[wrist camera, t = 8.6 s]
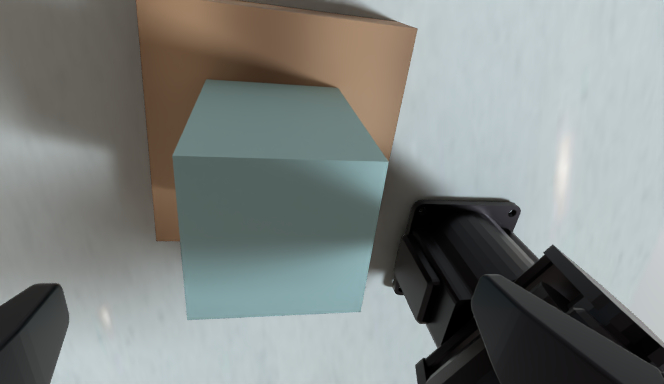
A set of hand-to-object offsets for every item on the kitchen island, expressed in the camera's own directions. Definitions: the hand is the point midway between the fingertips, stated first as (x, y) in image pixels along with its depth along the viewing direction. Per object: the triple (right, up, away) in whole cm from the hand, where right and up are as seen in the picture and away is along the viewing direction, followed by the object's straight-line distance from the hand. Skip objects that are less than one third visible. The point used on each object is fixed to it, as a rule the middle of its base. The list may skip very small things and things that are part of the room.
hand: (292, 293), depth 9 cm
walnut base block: (-2, +6, +10) cm, 12 cm away
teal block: (-2, +4, +8) cm, 9 cm away
